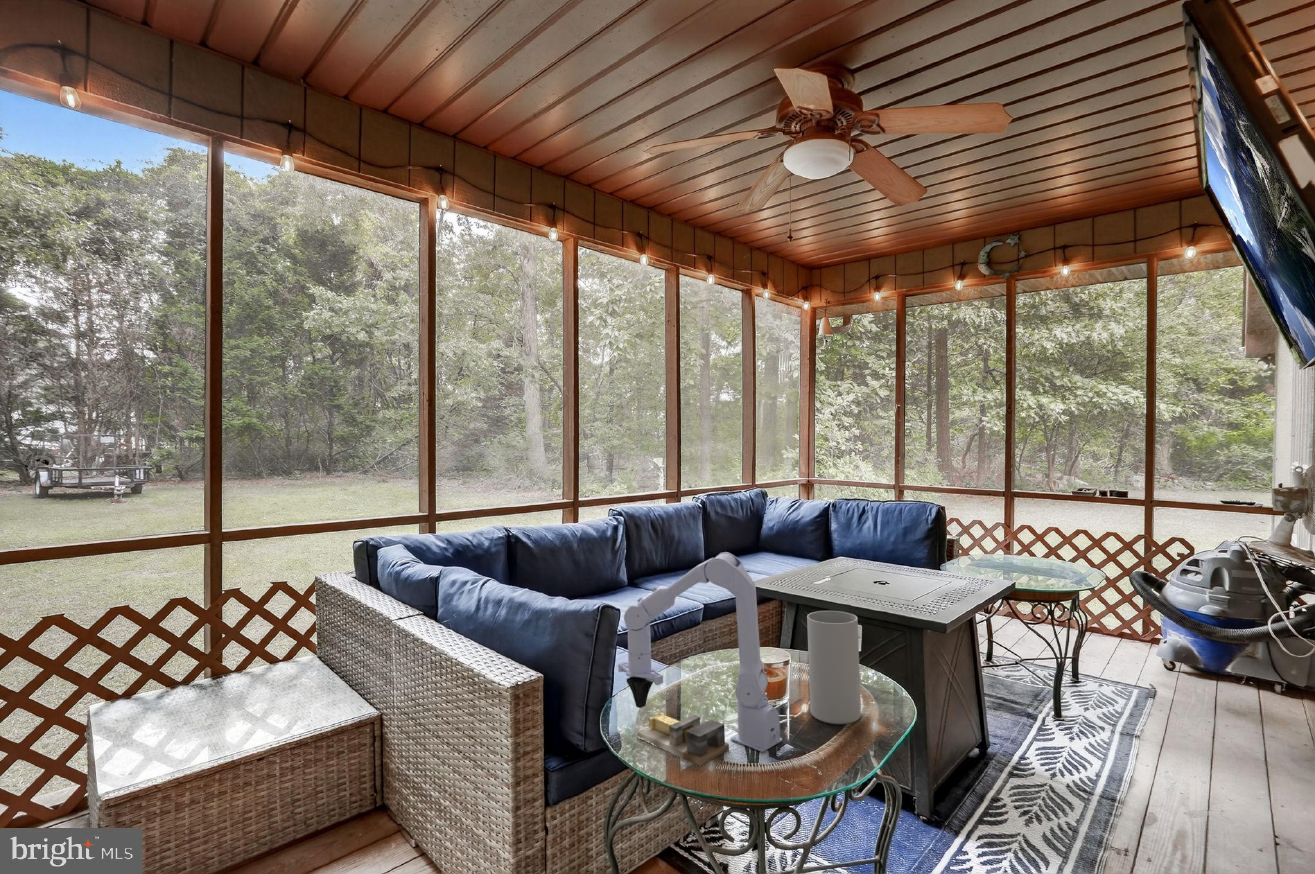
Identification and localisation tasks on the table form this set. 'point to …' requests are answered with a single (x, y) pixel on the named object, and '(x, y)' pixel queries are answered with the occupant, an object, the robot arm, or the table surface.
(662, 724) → the yellow sliding bolt
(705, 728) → the latch board
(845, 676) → the cylinder vase
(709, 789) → the table surface
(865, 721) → the table surface
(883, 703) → the table surface
